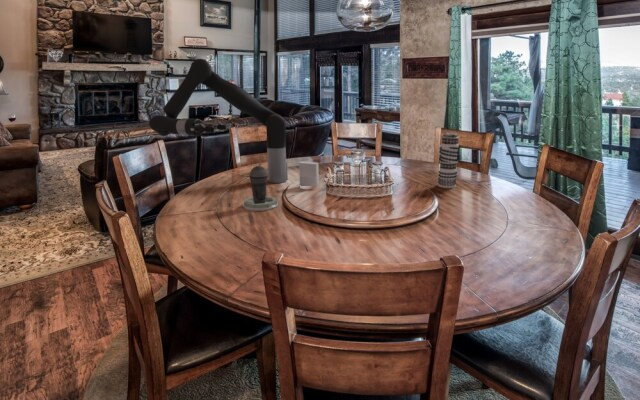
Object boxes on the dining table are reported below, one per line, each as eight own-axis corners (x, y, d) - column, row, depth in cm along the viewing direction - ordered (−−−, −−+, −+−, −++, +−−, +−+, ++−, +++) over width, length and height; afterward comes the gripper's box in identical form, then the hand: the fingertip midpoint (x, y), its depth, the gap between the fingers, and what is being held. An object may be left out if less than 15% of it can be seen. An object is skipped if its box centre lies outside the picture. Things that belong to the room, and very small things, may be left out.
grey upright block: (296, 188, 207) (296, 163, 204) (304, 184, 215) (304, 160, 212) (314, 190, 204) (313, 165, 200) (321, 186, 212) (321, 161, 208)
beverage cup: (251, 201, 183) (249, 153, 178) (269, 201, 184) (267, 153, 178) (250, 206, 176) (247, 157, 171) (268, 206, 177) (266, 156, 171)
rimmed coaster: (259, 199, 189) (258, 194, 189) (284, 204, 182) (284, 198, 181) (236, 207, 178) (235, 201, 178) (262, 213, 171) (262, 206, 170)
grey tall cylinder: (458, 184, 213) (462, 132, 206) (455, 189, 205) (459, 135, 198) (439, 182, 217) (442, 131, 210) (435, 187, 209) (438, 134, 202)
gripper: (177, 120, 186) (208, 121, 180) (199, 117, 199) (229, 118, 193) (179, 137, 189) (210, 139, 182) (200, 133, 201) (230, 135, 195)
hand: (220, 128), depth 187 cm, fingers open, 8 cm apart
